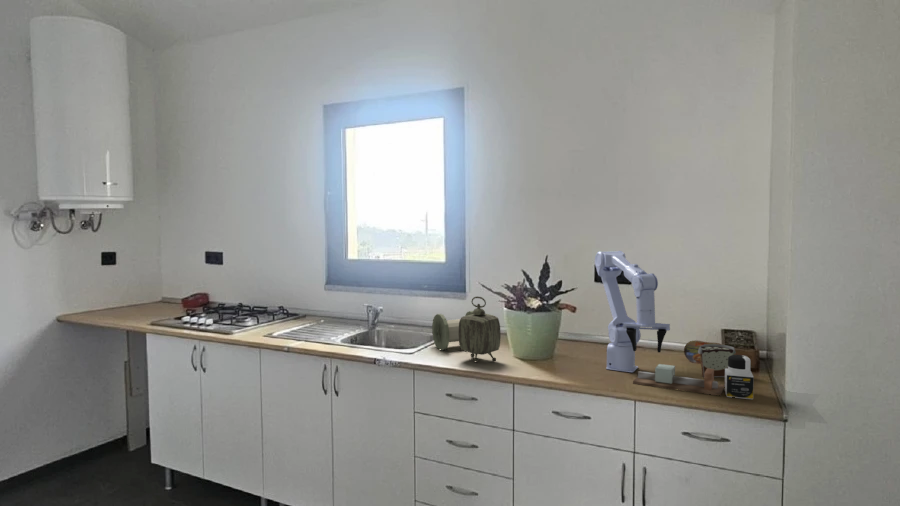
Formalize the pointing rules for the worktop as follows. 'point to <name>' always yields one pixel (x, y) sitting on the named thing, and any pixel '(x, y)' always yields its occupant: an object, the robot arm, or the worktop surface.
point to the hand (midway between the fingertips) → (646, 351)
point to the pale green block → (664, 373)
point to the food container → (715, 358)
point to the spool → (445, 330)
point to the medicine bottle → (739, 377)
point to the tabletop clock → (479, 332)
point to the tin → (695, 350)
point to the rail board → (684, 383)
